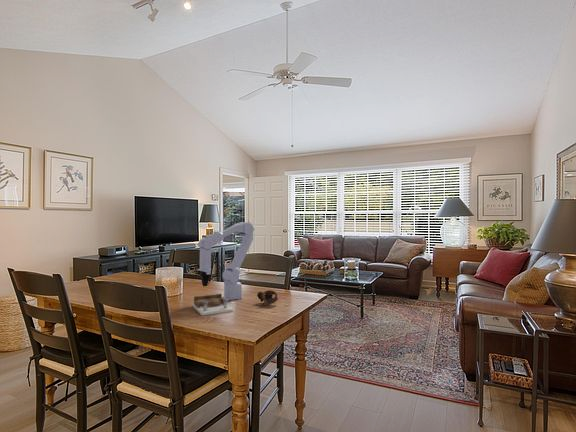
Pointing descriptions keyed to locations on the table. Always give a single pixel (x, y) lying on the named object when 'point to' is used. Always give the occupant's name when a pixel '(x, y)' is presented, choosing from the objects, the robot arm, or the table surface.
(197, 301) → the brown rectangular box
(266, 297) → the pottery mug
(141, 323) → the table surface
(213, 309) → the board
